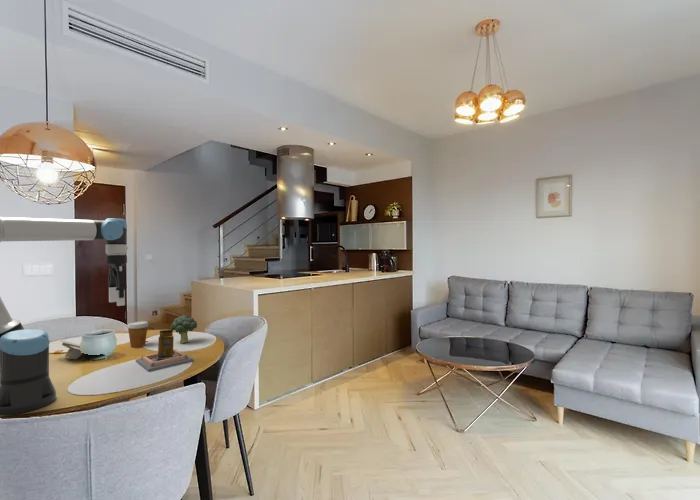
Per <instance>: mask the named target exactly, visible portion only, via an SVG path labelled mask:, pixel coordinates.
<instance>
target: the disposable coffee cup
mask: <svg viewBox="0 0 700 500" xmlns="http://www.w3.org/2000/svg"><path fill="white" fill-rule="evenodd" d="M126 327H127V330H128V336H129V343H130V348H134V349H136V348H141V347H142V348H143V347H144V346H146V342H147V341H146V340H147V333H148V327H149V323H148V321H146V320H139V321H131V322H129V323H127V326H126Z"/></svg>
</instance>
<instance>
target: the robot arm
mask: <svg viewBox="0 0 700 500" xmlns="http://www.w3.org/2000/svg"><path fill="white" fill-rule="evenodd" d="M127 226H128V225H127V220H126V219H123V218H116V217H113V218H110V217H109V218H106V219H105V220H96V219H93V220H92V219H67V218H65V219H64V218H43V217H42V218H38V217H37V218H36V217H35V218H34V217H33V218H32V217H12V216H11V217H8V216H7V217H6V216H5V217H3V216H0V243H3V242H46V241H47V242H49V241H50V242H51V241H54V242H55V241H56V242H57V241H61V242H62V241H65V242H66V241H104V242H105V254H106V255H105V264H107V265H109V266H108V269H109V270H108V278H107V286H108V303H116V306H117V307H120V306H125V305H126V289H127V281H126V275H125V266H124V265H125V264H127V263H128V256H127V253H128V251H127V250H128V249H129V247H128V246H127V244H128V243H127V240H128V239H127V237H128V236H127V234H128V233H127V232H128V227H127ZM122 264H123V265H122ZM56 398H57V390H56V388H55V386H54V384H53V382H52V379H51V377H50V339H49V333H48V332H47V331H45V330H42V329H38V328H37V329H36V328H35V329H33V328H31V329H30V328H27V329H25V327H23V325H22V323H21V321H20V320H18V319H16V318H15V319H14V318H12V317H11V314H10V313H9V311H8V309H7V307H6V306H5V303H4V301H3V300H2V298H1V297H0V416H13V415H19V414H23V413H27V412H28V413H29V412H31V411H35V410H37V409H41V408H44V407H45V406H47V405H50V404H51V403H53V402H54V401H55V400H56Z"/></svg>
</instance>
